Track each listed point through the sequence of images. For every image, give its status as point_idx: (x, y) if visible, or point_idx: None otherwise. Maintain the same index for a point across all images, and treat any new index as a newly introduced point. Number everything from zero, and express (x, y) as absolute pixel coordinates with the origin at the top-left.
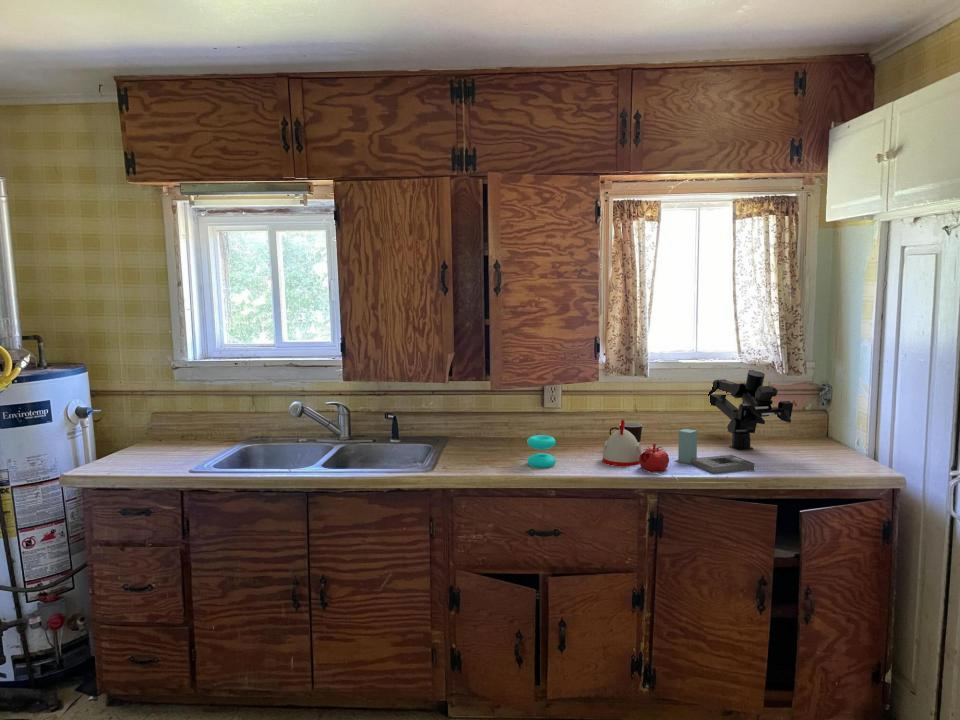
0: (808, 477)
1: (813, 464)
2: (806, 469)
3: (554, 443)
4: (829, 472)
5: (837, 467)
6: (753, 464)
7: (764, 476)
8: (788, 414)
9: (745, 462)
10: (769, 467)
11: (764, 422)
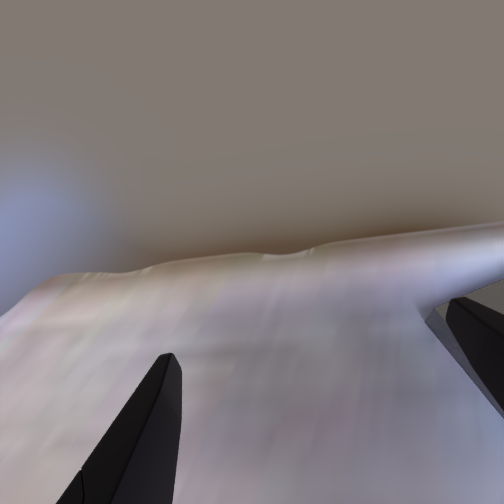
0: (255, 261)
1: None
2: (216, 352)
3: None
4: (163, 319)
5: (91, 388)
6: (436, 308)
7: (390, 255)
8: (101, 448)
9: None
10: (353, 375)
11: (453, 305)
